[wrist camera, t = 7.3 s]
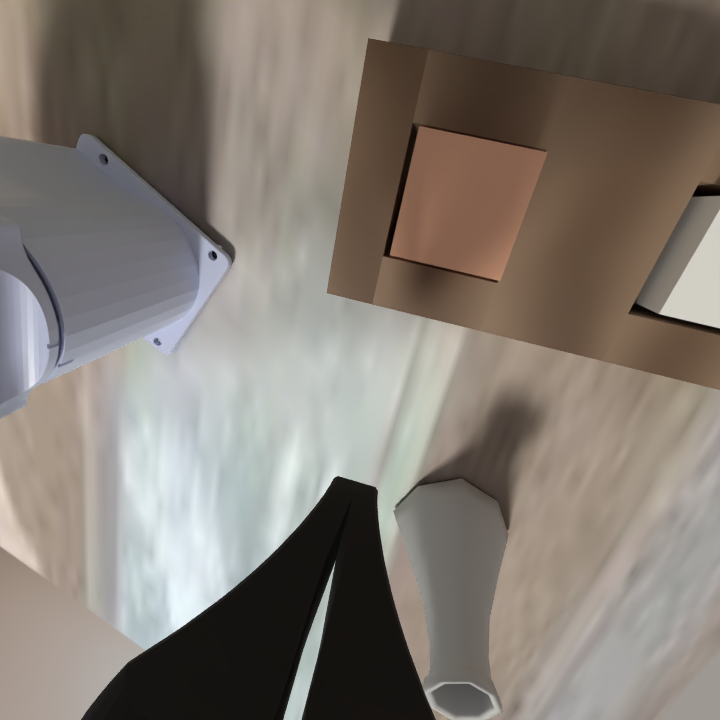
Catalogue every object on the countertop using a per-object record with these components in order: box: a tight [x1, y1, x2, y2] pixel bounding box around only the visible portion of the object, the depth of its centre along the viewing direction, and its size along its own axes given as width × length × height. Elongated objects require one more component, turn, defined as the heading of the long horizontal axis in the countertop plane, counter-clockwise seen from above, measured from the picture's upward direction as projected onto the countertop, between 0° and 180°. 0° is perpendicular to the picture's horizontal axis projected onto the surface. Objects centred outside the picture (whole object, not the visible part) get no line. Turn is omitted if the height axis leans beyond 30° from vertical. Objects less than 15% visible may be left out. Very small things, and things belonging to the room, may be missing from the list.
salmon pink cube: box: [390, 126, 548, 281], centre depth 14 cm, size 4×4×4 cm
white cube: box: [634, 196, 720, 328], centre depth 14 cm, size 4×4×4 cm
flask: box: [394, 479, 508, 720], centre depth 20 cm, size 7×7×10 cm
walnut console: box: [327, 38, 720, 390], centre depth 15 cm, size 19×9×4 cm, turn 78°
